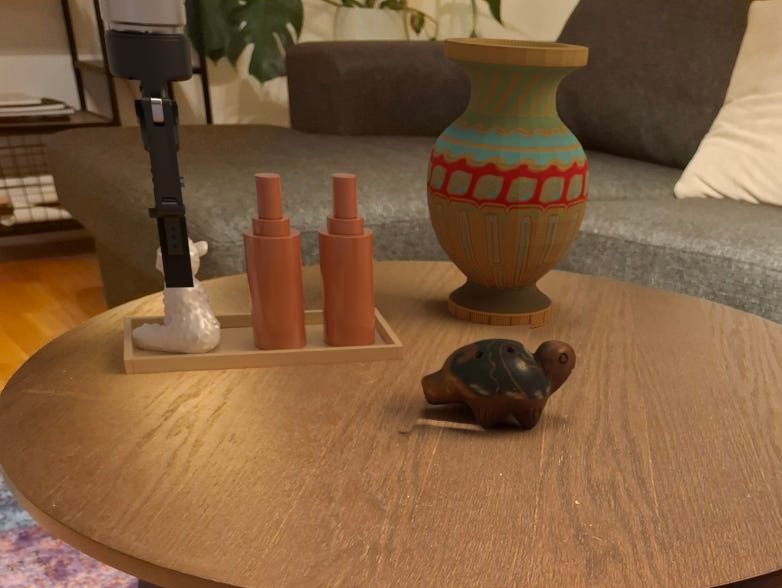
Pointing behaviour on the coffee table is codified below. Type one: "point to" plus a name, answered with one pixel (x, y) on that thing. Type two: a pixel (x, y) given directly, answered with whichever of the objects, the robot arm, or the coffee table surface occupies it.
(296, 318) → the near bottle
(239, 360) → the tray
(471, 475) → the coffee table surface
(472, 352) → the decorative turtle
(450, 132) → the vase
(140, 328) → the sitting furry creature
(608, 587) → the coffee table surface
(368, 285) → the far bottle
